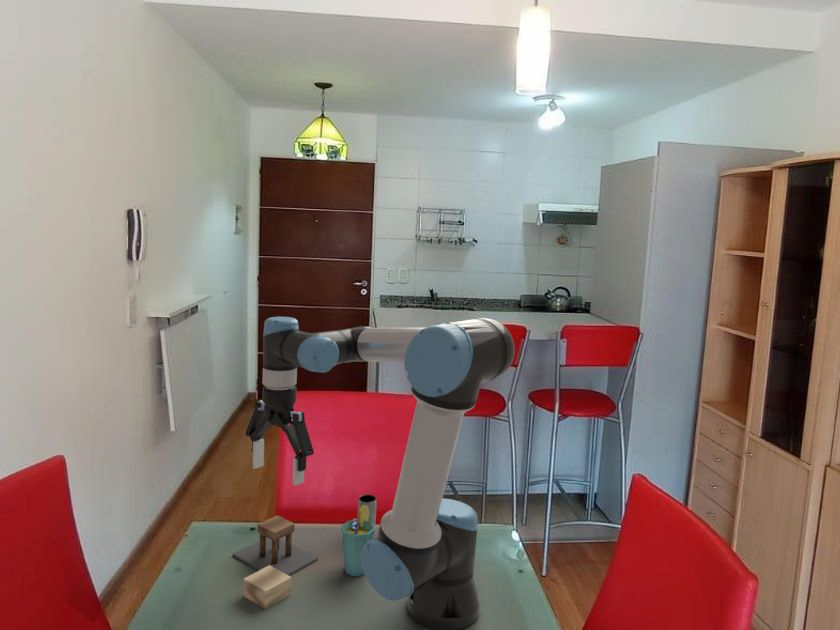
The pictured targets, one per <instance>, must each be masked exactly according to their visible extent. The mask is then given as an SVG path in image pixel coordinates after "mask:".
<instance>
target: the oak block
mask: <svg viewBox="0 0 840 630" xmlns="http://www.w3.org/2000/svg"><path fill="white" fill-rule="evenodd" d="M242 590H243V591H242V592H243V593H242V594H243V595H242V596H243V597H244V598H246V599H248V600H249V601H251V602H253V603H254V604H255V605H257V606H259V607H261V608H262V609H264V610H267V609H268V608H271V607H272V606H274V605H275V604H277V603H279V602H281V601H283V600H284V599H286V598H287V597H289V596H291V595H292V576H291V575H290V576H288V575H287V574H285V573H283V572H281V571H279V570H277V569H276V568H274V567H272V566H270V565H269V566H267V567H265V568H263V569H261V570H257V571H256V572H253V573H252V574H250V575H248V576H246V577H244V578H243V589H242Z"/></svg>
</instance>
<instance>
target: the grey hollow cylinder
mask: <svg viewBox="0 0 840 630" xmlns="http://www.w3.org/2000/svg"><path fill="white" fill-rule="evenodd" d="M357 501H358V502H357V504H358V505H357V515H358V514H359V511H360V509H361V507H362V505H366V506H368V508H369V518H368V522H371V523H372V525H373V527H374V528H375V529H376V518H377V517H376V516H377V497H376V496H375V495H372V494H362V495H360V496H359V497H358V499H357ZM375 536H376V530H375V531H374V534H373V536H372V539H375Z"/></svg>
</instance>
